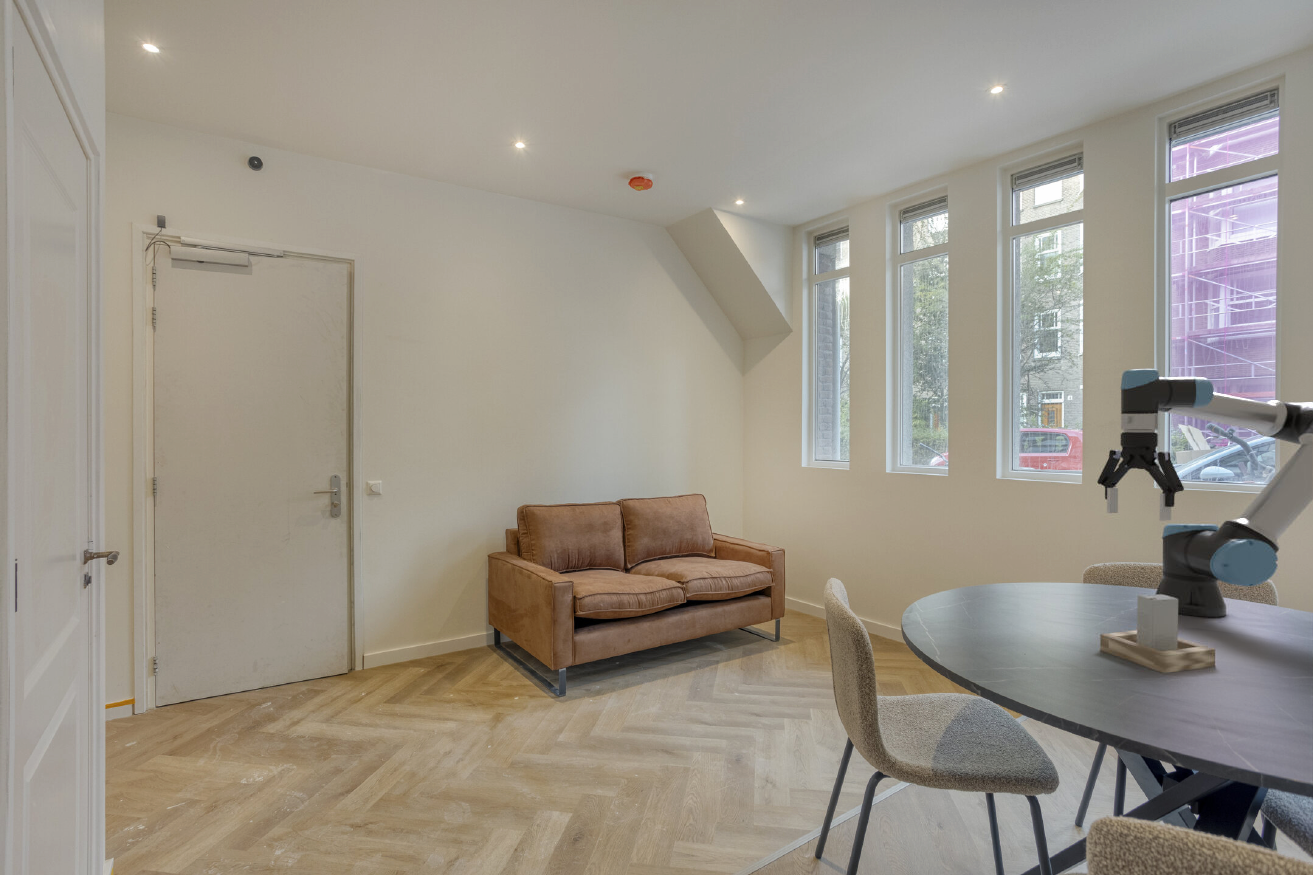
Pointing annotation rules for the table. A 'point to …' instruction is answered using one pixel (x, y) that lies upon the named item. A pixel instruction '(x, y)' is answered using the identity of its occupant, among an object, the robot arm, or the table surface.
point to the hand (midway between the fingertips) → (1137, 516)
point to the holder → (1158, 653)
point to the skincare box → (1157, 622)
